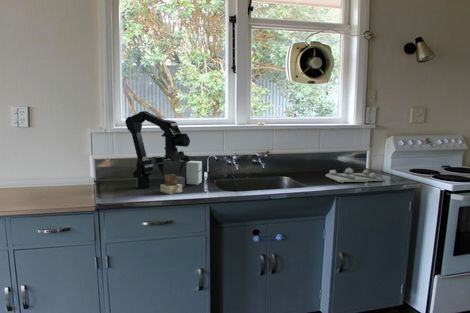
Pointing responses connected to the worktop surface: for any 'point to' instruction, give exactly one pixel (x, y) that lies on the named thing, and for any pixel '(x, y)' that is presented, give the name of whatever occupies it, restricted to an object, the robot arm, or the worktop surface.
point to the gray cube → (181, 181)
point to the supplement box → (194, 172)
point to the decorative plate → (353, 176)
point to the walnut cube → (170, 180)
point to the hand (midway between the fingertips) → (171, 175)
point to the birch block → (171, 188)
